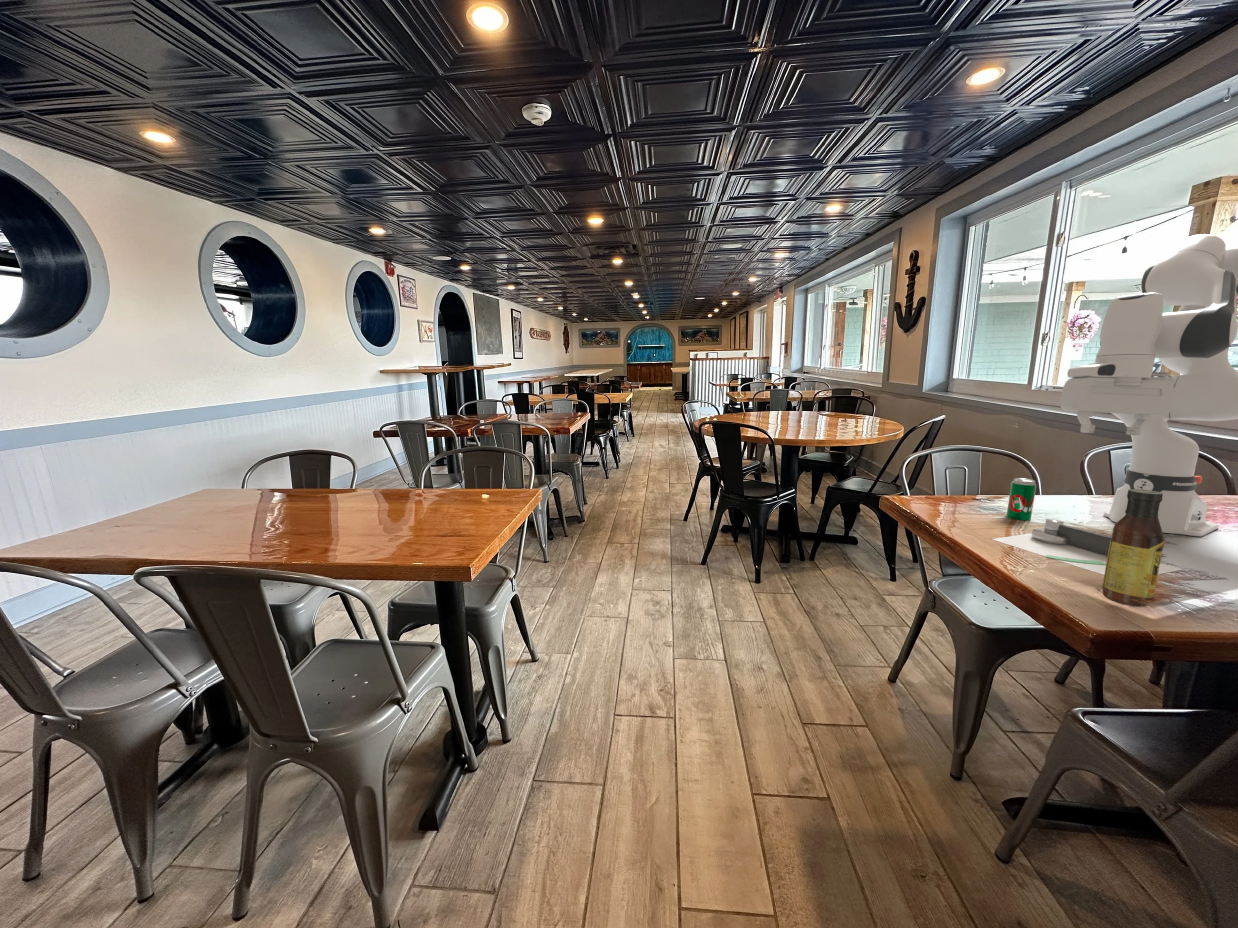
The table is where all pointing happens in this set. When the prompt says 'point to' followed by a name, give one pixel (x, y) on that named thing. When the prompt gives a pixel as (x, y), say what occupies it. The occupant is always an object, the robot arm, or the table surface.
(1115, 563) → the sauce bottle
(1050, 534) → the grey black long piece
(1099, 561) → the board
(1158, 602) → the table surface
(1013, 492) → the soda can
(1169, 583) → the table surface
